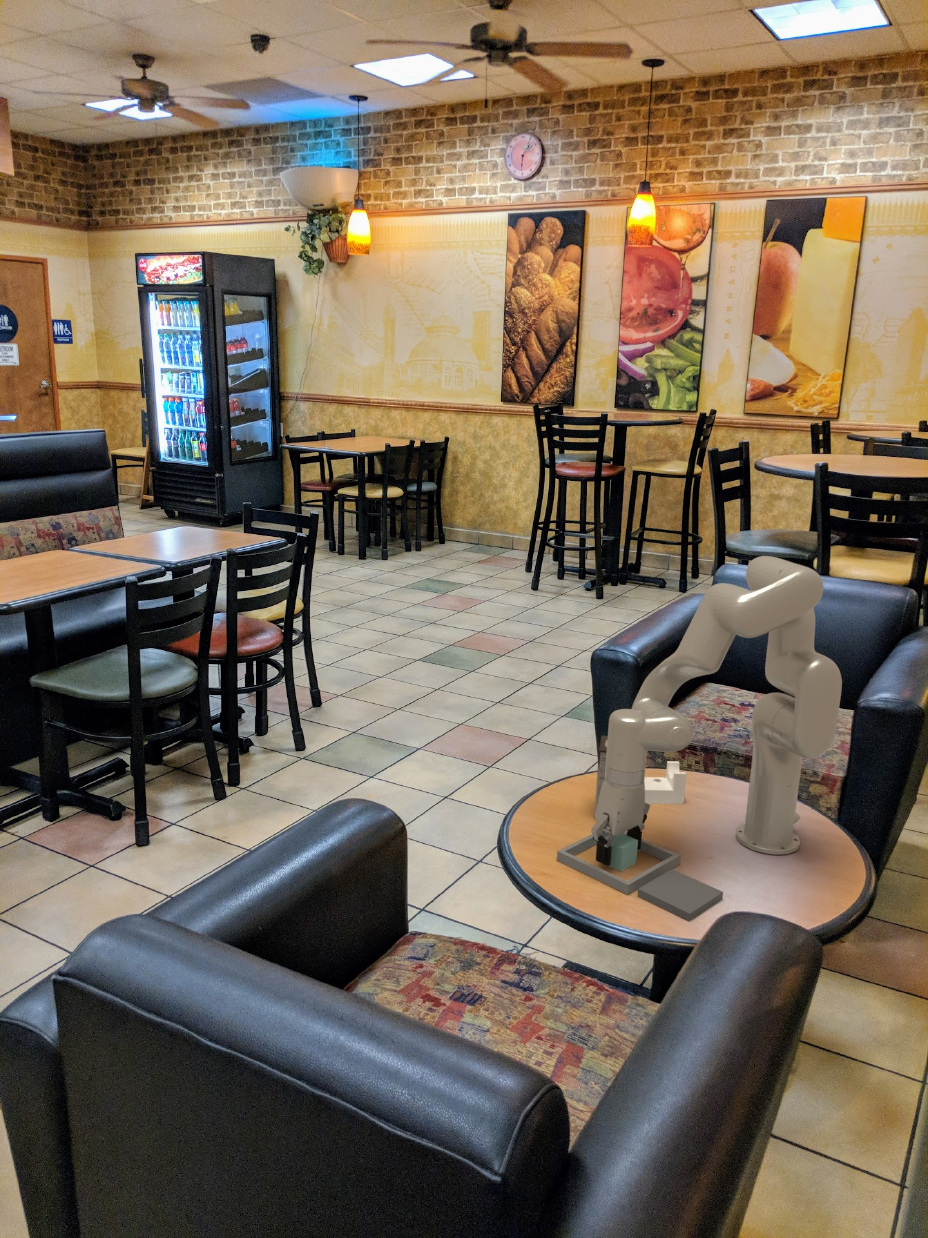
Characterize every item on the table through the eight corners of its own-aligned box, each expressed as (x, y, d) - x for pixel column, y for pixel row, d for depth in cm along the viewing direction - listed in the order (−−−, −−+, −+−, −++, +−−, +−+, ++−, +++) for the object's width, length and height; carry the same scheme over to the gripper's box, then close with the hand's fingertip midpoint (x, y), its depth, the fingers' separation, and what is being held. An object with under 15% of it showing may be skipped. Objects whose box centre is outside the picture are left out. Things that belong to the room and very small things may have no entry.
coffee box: (596, 801, 212) (601, 734, 208) (625, 804, 211) (630, 737, 207) (593, 819, 203) (598, 749, 199) (623, 822, 202) (629, 752, 198)
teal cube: (615, 854, 188) (617, 831, 187) (636, 863, 185) (638, 840, 184) (599, 862, 185) (601, 839, 184) (620, 872, 182) (622, 848, 180)
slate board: (671, 876, 180) (672, 869, 180) (722, 899, 173) (723, 892, 172) (637, 896, 173) (638, 888, 173) (689, 921, 165) (689, 913, 165)
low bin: (609, 834, 197) (610, 825, 196) (679, 864, 185) (680, 855, 184) (556, 860, 185) (557, 851, 184) (627, 895, 173) (628, 885, 173)
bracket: (675, 791, 219) (678, 761, 217) (683, 805, 212) (686, 774, 210) (619, 791, 218) (622, 760, 216) (625, 804, 211) (628, 773, 210)
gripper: (635, 756, 189) (629, 835, 193) (580, 779, 177) (575, 862, 181) (667, 768, 184) (660, 848, 188) (613, 792, 172) (606, 877, 176)
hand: (618, 855), depth 185 cm, fingers open, 9 cm apart
